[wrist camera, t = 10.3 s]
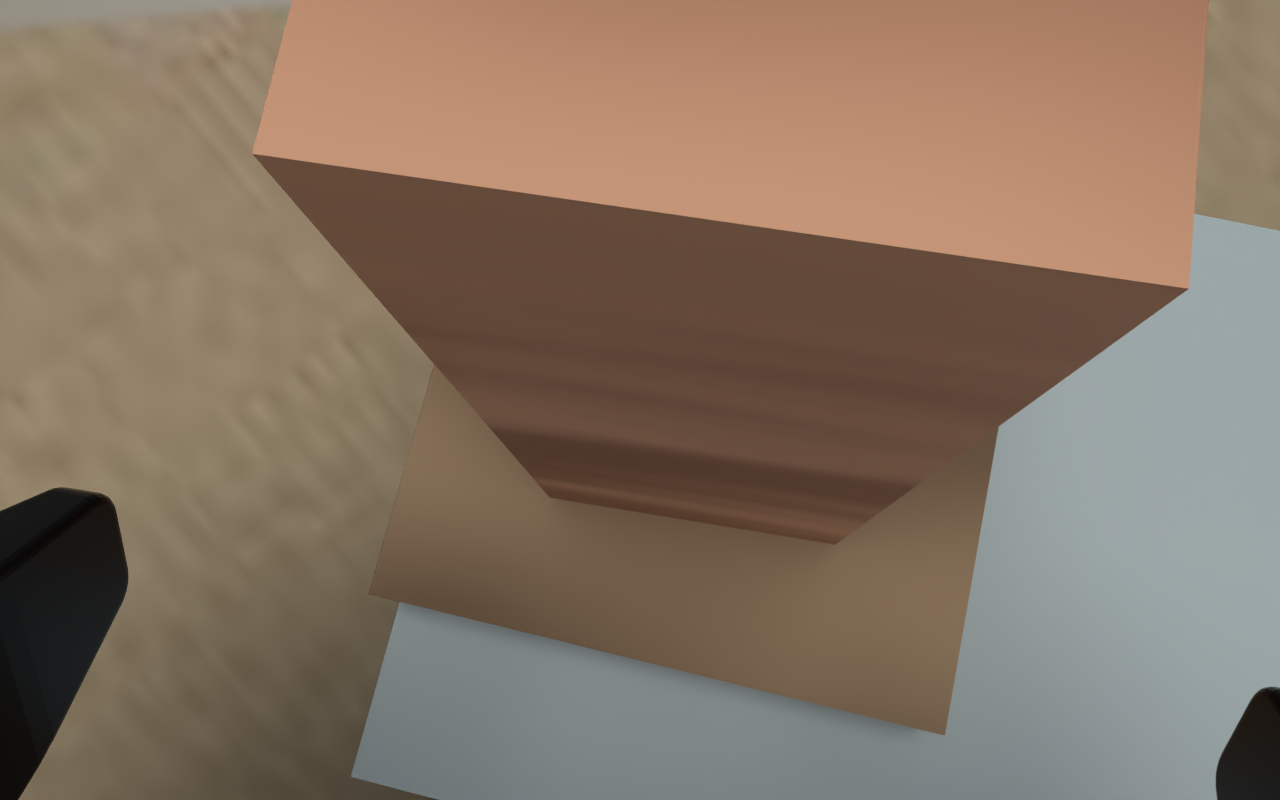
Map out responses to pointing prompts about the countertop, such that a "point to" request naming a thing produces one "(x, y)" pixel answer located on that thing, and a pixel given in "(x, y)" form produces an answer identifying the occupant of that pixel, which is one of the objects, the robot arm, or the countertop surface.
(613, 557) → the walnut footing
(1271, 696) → the robot arm
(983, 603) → the board
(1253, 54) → the countertop surface
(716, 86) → the terracotta pillar
